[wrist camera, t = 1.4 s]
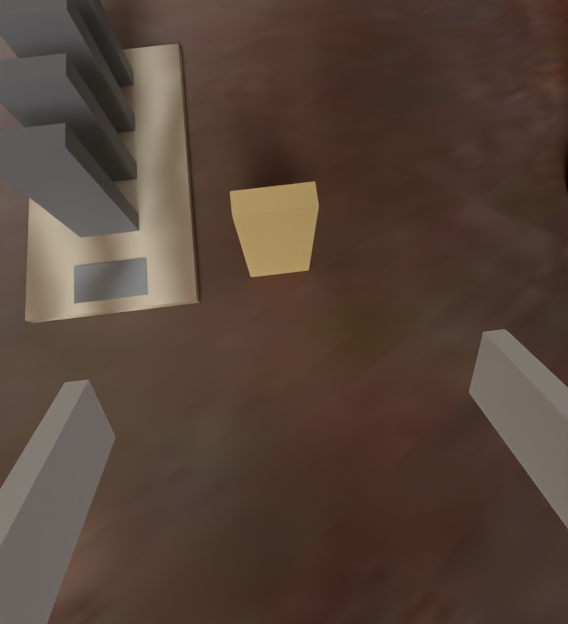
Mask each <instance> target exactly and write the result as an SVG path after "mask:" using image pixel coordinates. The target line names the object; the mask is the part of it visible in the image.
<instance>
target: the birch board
mask: <svg viewBox="0 0 568 624" xmlns="http://www.w3.org/2000/svg"><path fill="white" fill-rule="evenodd" d="M123 51H124V53H125V55H126V57H127V59H128V61H129V63H130V66H131V68H132V70H133V79H134V85H132V86H123V87H120V89H121V91H122V93H123V95H124V97H125V98H126V100H127V102H128V104H129V106H130V108H131V110H132V111H133V113H134V115H135V131H128V132H119V133H118V135H119V136H120V138H121V140H122V141H123V143H124V144H125V146H126V147H127V149H128V150H129V152H130V154H131V155H132V157H133V158H134V160H135V161H136V163H137V179H133V180H124V181H116V182H113V183H114V184H115V185H116V186H117V188H118V189H119V190H120V191H121V193H122V194H123V195H124V196H125V198H126V199H127V200H128V201H129V203H130V204H131V205H132V206H133V208H134V209H135V210H136V211H137V212H138V214H139V231H133V232H125V233H116V234H108V235H99V236H90V237H82V238H81V237H79V236H78V235H77V234H75V233H74V232H73V231H72V230H70V229H69V228H68V227H66V226H65V225H64V224H63V223H61V222H60V221H59V220H57V219H56V218H55V217H54V216H52V215H51V214H50V213H48V212H47V211H46V210H45V209H43V208H42V207H41V206H40V205H38V204H37V203H36V202H34V201H33V200H32V199H31V198H29V224H28V253H27V282H26V310H25V320H26V321H29V322H33V323H35V322H43V321H51V320H60V319H68V318H76V317H84V316H93V315H101V314H109V313H118V312H126V311H134V310H142V309H151V308H159V307H167V306H176V305H184V304H192V303H200V299H199V285H198V271H197V258H196V244H195V231H194V217H193V204H192V190H191V177H190V163H189V149H188V136H187V122H186V109H185V95H184V82H183V68H182V54H181V50H180V47H179V44H170V45H160V46H151V47H142V48H133V49H124V50H123Z"/></svg>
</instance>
